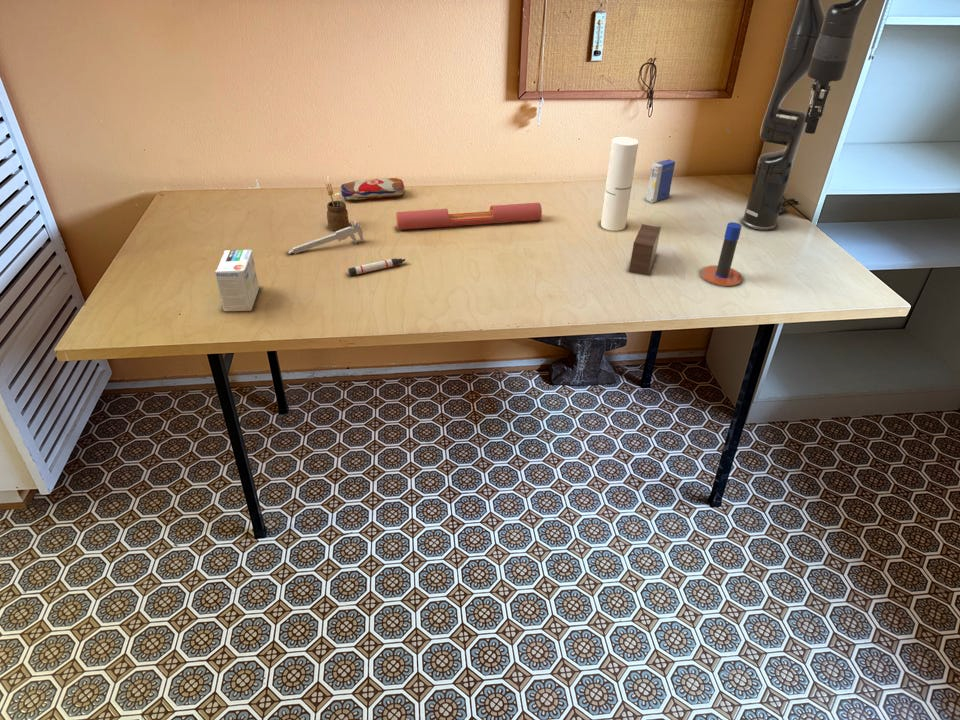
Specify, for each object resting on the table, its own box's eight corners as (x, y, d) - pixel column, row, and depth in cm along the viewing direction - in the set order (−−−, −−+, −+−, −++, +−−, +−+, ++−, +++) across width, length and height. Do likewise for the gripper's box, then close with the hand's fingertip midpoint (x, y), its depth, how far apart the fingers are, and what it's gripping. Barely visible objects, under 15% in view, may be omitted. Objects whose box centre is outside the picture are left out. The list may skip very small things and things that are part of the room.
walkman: (662, 194, 225) (668, 157, 218) (668, 197, 224) (675, 160, 216) (645, 200, 221) (651, 162, 214) (652, 202, 220) (658, 165, 213)
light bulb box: (232, 288, 172) (223, 249, 166) (260, 288, 173) (252, 248, 167) (223, 312, 164) (213, 271, 157) (252, 311, 164) (244, 270, 158)
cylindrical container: (624, 231, 203) (638, 146, 188) (600, 229, 204) (611, 143, 189) (625, 221, 208) (638, 137, 194) (601, 219, 209) (612, 135, 195)
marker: (351, 277, 178) (350, 270, 177) (348, 273, 180) (347, 266, 178) (407, 264, 184) (406, 258, 183) (404, 261, 186) (403, 254, 184)
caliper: (362, 240, 195) (360, 219, 191) (363, 242, 194) (361, 221, 190) (288, 253, 188) (284, 231, 184) (289, 254, 187) (285, 233, 184)
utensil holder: (335, 233, 198) (331, 193, 191) (323, 225, 202) (318, 186, 195) (353, 227, 201) (349, 187, 194) (341, 220, 205) (337, 180, 198)
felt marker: (694, 241, 181) (736, 216, 174) (721, 277, 184) (764, 253, 177) (692, 247, 179) (735, 221, 171) (720, 283, 181) (763, 259, 174)
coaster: (703, 264, 187) (704, 262, 187) (742, 271, 185) (743, 269, 184) (699, 281, 180) (699, 279, 179) (739, 289, 177) (740, 287, 177)
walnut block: (637, 251, 193) (642, 223, 188) (655, 255, 191) (660, 227, 186) (629, 271, 184) (633, 242, 179) (648, 275, 182) (653, 246, 177)
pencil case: (402, 204, 215) (401, 189, 212) (338, 203, 215) (336, 187, 212) (405, 190, 224) (405, 175, 221) (344, 189, 224) (342, 173, 221)
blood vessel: (536, 215, 210) (537, 199, 208) (541, 222, 206) (542, 206, 204) (396, 225, 203) (395, 209, 200) (398, 232, 199) (397, 216, 196)
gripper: (850, 64, 152) (826, 139, 162) (847, 50, 163) (825, 121, 173) (813, 61, 154) (792, 134, 164) (812, 47, 165) (793, 117, 175)
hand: (809, 127), depth 168 cm, fingers open, 8 cm apart
